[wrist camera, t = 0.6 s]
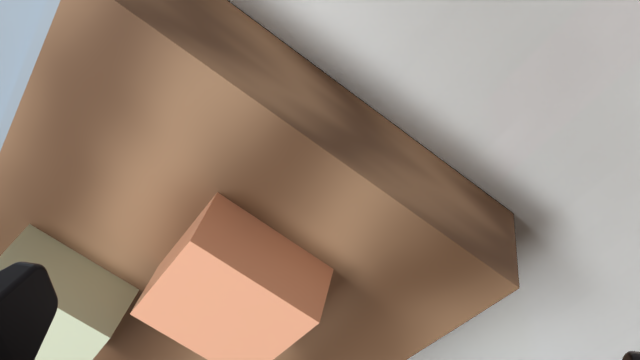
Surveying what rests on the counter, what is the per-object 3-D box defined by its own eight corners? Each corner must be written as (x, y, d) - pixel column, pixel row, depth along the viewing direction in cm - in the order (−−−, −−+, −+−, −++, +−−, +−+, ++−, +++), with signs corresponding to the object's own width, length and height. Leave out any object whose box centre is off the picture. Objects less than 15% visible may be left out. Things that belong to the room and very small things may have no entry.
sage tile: (139, 289, 24) (110, 338, 22) (98, 341, 27) (68, 388, 25) (29, 223, 23) (-12, 268, 21) (-2, 285, 26) (-40, 329, 24)
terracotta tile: (333, 269, 21) (319, 322, 19) (263, 329, 24) (245, 382, 22) (217, 192, 20) (189, 241, 18) (158, 265, 23) (129, 313, 21)
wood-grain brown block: (513, 213, 23) (519, 288, 20) (258, 401, 35) (236, 466, 32) (136, -67, 20) (72, -30, 16) (-7, 246, 31) (-61, 303, 28)
